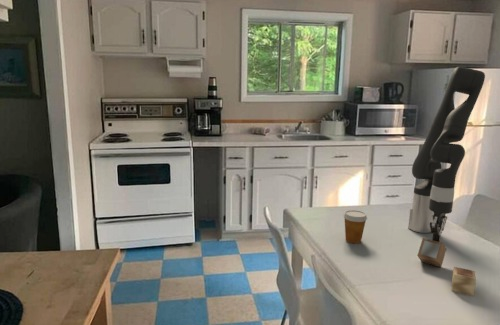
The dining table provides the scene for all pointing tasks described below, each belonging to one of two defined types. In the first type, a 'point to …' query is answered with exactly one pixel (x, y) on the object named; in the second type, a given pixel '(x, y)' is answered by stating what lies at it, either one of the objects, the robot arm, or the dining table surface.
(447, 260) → the dining table surface
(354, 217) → the disposable coffee cup
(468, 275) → the oak block
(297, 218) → the dining table surface
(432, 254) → the walnut block
